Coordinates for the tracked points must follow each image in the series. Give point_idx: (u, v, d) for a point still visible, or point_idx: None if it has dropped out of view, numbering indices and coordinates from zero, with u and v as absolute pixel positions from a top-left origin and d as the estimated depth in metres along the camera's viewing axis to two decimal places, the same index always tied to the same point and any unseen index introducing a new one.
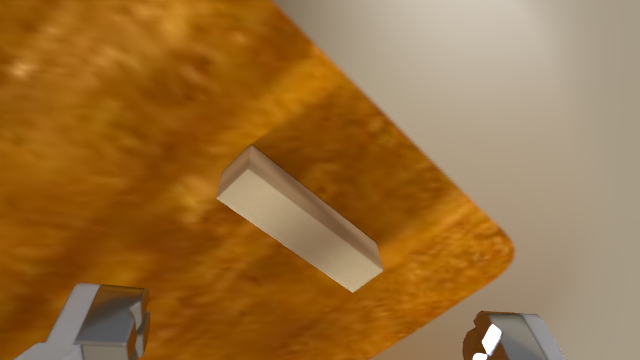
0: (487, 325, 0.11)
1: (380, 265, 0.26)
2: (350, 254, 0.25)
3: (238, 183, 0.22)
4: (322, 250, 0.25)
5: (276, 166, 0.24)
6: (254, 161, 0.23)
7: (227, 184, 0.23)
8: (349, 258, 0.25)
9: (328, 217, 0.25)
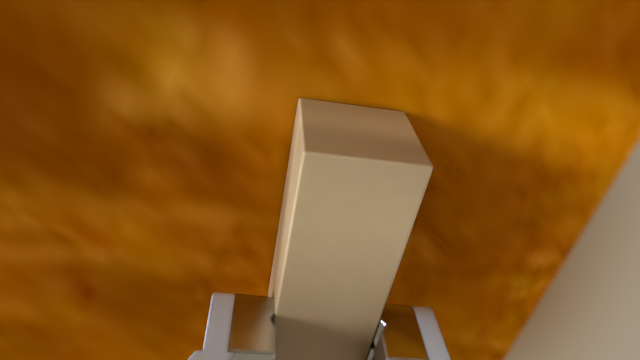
0: None
1: None
2: None
3: (380, 171, 0.08)
4: None
5: None
6: None
7: (347, 147, 0.08)
8: None
9: None
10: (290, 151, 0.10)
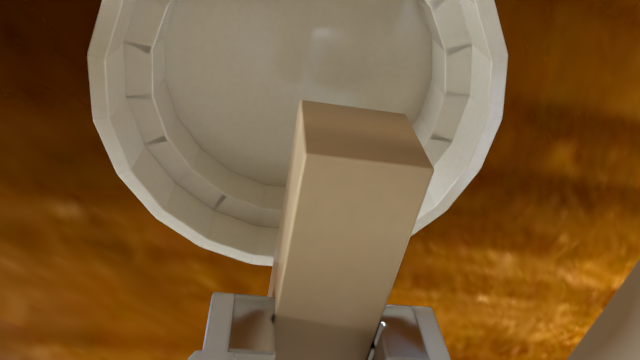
0: None
1: None
2: None
3: (380, 173, 0.08)
4: None
5: None
6: None
7: (348, 149, 0.08)
8: None
9: None
10: (291, 153, 0.11)
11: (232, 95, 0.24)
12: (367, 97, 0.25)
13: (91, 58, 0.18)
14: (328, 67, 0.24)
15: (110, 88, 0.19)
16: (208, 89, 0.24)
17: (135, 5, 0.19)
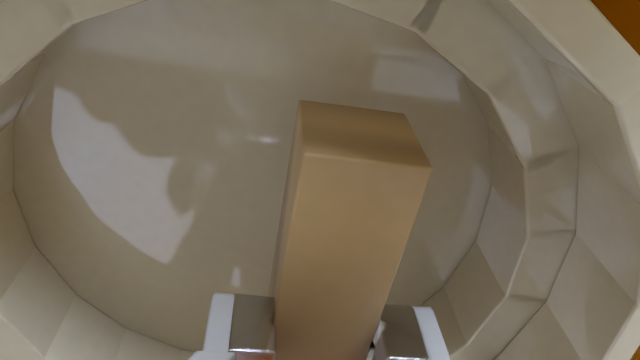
0: None
1: None
2: None
3: (379, 172, 0.08)
4: None
5: None
6: None
7: (347, 148, 0.08)
8: None
9: None
10: (290, 152, 0.11)
11: (242, 101, 0.12)
12: None
13: None
14: None
15: None
16: (261, 58, 0.11)
17: (516, 33, 0.09)
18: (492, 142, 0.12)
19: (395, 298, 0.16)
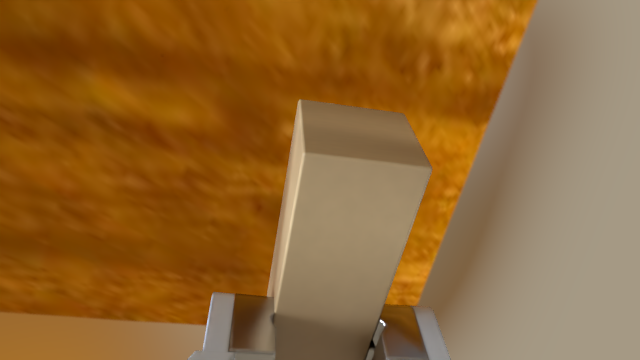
0: None
1: None
2: None
3: (379, 172, 0.08)
4: None
5: None
6: None
7: (347, 148, 0.08)
8: None
9: None
10: (290, 152, 0.11)
11: None
12: None
13: None
14: None
15: None
16: None
17: None
18: None
19: None
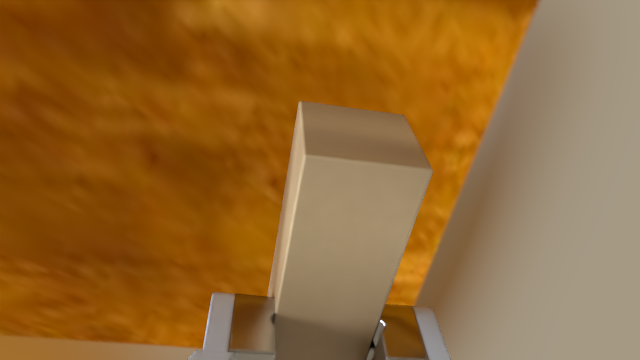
0: None
1: None
2: None
3: (378, 174, 0.08)
4: None
5: None
6: None
7: (347, 150, 0.08)
8: None
9: None
10: None
11: None
12: None
13: None
14: None
15: None
16: None
17: None
18: None
19: None
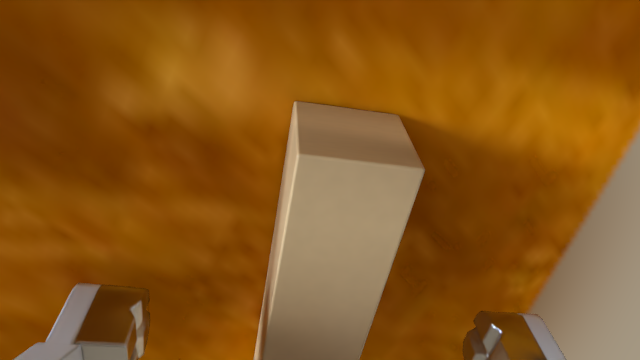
0: (487, 325, 0.11)
1: None
2: None
3: (372, 173, 0.08)
4: None
5: None
6: None
7: (340, 149, 0.09)
8: None
9: None
10: (286, 153, 0.11)
11: None
12: None
13: None
14: None
15: None
16: None
17: None
18: None
19: None
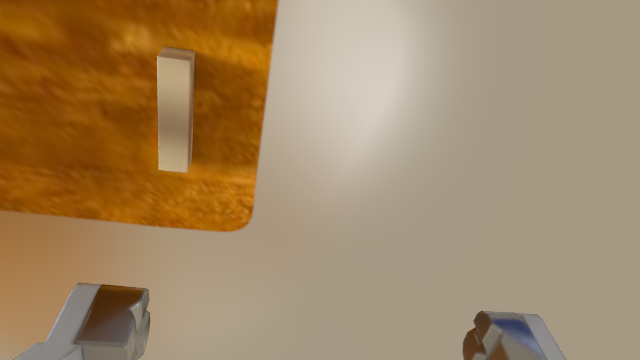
0: (486, 325, 0.11)
1: (187, 169, 0.40)
2: (182, 148, 0.39)
3: (176, 61, 0.35)
4: (172, 133, 0.38)
5: (194, 73, 0.37)
6: (192, 61, 0.36)
7: (169, 56, 0.35)
8: (179, 150, 0.39)
9: (190, 121, 0.38)
10: None
11: None
12: None
13: None
14: None
15: None
16: None
17: None
18: None
19: None
